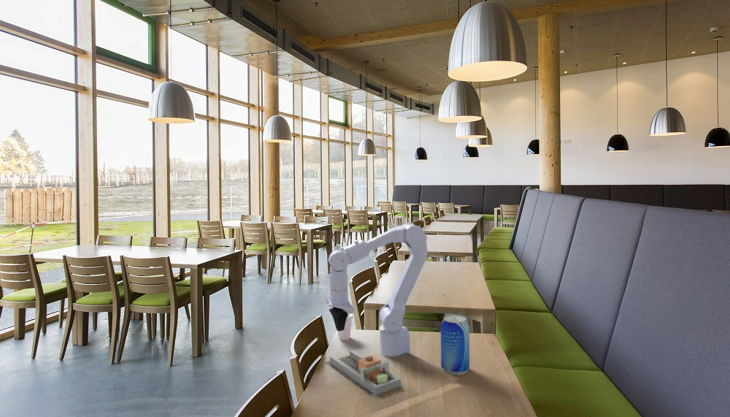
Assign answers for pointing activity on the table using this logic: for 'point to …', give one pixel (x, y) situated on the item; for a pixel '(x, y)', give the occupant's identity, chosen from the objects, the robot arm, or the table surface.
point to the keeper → (368, 362)
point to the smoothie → (346, 329)
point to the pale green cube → (382, 378)
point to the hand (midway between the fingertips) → (340, 330)
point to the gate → (366, 370)
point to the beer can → (455, 345)
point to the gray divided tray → (369, 385)
